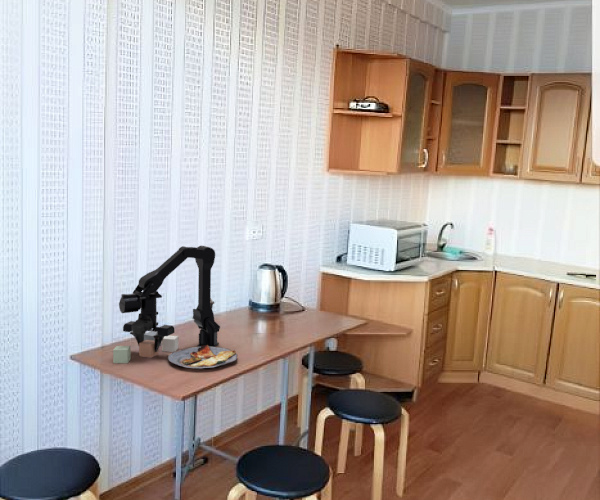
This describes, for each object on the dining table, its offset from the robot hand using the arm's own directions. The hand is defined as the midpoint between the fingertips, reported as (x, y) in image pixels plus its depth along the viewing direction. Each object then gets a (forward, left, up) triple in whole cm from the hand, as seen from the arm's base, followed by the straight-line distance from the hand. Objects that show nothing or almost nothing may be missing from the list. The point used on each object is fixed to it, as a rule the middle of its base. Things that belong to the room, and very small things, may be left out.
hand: (148, 350), depth 232 cm
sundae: (0, -50, -2) cm, 50 cm away
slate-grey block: (+5, -11, -2) cm, 12 cm away
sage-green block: (+5, +10, -2) cm, 11 cm away
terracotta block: (0, 0, -2) cm, 2 cm away
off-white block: (-4, -9, -2) cm, 10 cm away
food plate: (-22, -1, -2) cm, 22 cm away
